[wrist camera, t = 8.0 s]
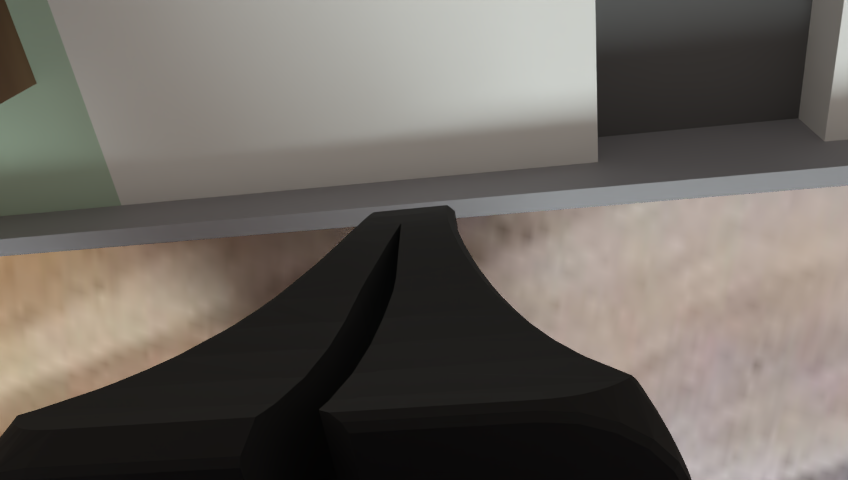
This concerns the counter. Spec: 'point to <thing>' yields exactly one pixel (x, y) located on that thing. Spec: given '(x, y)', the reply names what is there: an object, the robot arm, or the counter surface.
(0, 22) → the walnut block
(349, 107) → the box
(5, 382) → the counter surface
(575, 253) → the counter surface
